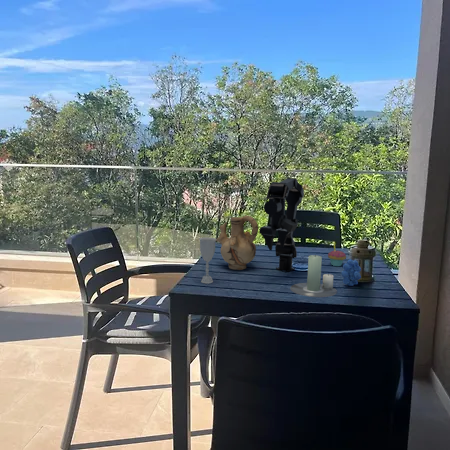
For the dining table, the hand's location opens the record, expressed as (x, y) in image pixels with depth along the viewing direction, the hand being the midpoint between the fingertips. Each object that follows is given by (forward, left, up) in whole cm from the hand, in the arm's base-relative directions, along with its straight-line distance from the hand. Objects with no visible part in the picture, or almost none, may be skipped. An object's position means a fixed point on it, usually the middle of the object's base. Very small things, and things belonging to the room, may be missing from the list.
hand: (276, 248), depth 195 cm
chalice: (+24, -18, -13) cm, 33 cm away
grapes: (-9, +31, -13) cm, 35 cm away
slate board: (+7, +22, -13) cm, 26 cm away
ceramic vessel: (-3, -23, -13) cm, 27 cm away
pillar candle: (+7, +22, -12) cm, 26 cm away
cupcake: (-39, +10, -13) cm, 42 cm away
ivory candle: (+1, +25, -12) cm, 28 cm away
